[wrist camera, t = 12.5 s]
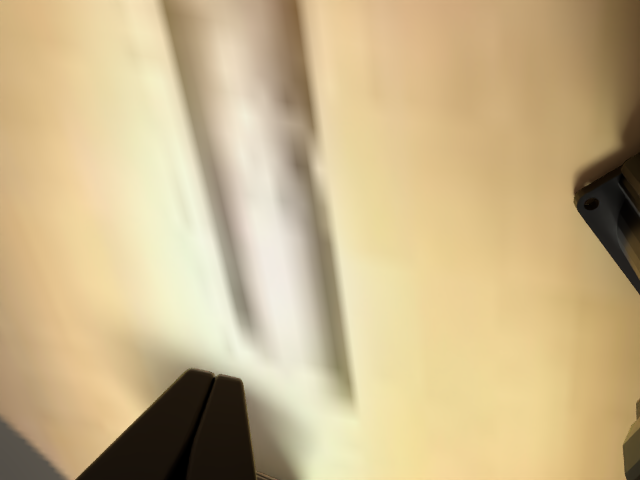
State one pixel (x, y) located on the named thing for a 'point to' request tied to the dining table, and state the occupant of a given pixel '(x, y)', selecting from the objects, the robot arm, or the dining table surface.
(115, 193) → the dining table surface
